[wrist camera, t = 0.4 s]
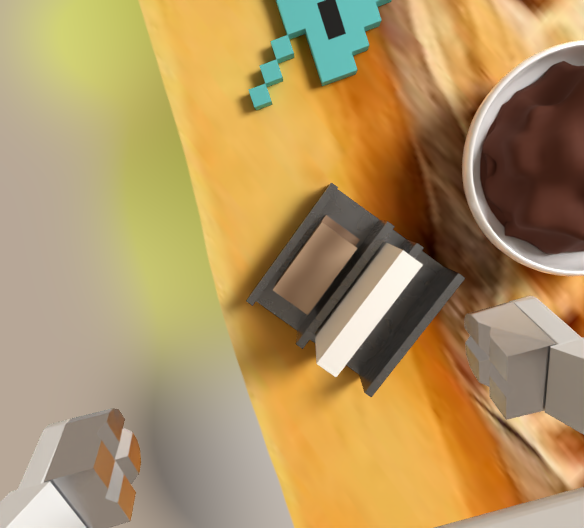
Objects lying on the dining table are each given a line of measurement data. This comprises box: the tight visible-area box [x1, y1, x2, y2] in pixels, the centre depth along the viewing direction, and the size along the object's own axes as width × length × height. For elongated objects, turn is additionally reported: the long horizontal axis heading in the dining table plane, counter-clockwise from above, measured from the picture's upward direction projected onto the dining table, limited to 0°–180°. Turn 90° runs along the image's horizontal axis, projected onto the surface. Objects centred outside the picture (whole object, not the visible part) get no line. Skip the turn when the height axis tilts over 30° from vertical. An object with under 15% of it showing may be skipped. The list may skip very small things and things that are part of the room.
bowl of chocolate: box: [462, 40, 584, 276], centre depth 50 cm, size 25×25×15 cm
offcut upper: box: [273, 222, 357, 315], centre depth 55 cm, size 5×10×2 cm, turn 144°
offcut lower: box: [275, 215, 360, 285], centre depth 58 cm, size 5×11×2 cm, turn 144°
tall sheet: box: [315, 241, 423, 377], centre depth 52 cm, size 2×14×15 cm, turn 144°
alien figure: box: [249, 0, 391, 110], centre depth 56 cm, size 20×2×20 cm
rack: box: [246, 183, 465, 397], centre depth 57 cm, size 19×18×7 cm
